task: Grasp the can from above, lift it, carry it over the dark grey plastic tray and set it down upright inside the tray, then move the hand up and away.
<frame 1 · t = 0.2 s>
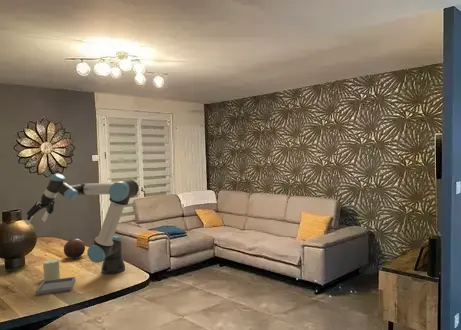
hand: (35, 222, 236), 35 cm above the table, tool tilted 35°, fingers open, 13 cm apart
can: (52, 279, 227), on the table
tray: (56, 287, 212), on the table
wooden sphere: (74, 258, 273), on the table
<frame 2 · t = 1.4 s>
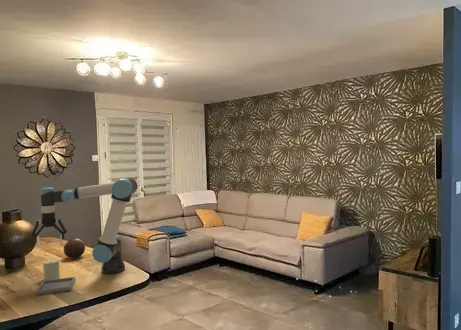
hand: (50, 245, 227), 22 cm above the table, tool pointing down, fingers open, 13 cm apart
nothing on the table moved.
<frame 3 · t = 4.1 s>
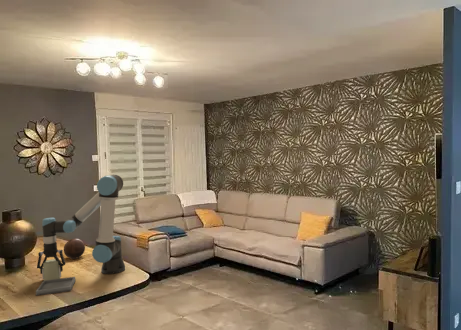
hand: (52, 277, 227), 1 cm above the table, tool pointing down, fingers closed on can, 9 cm apart
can: (52, 279, 227), on the table, touching gripper
everything else where it was.
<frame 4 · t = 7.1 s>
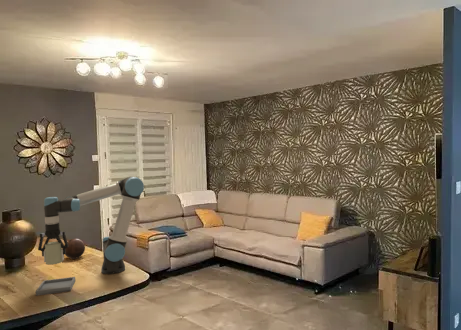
hand: (54, 260, 213), 15 cm above the table, tool pointing down, fingers closed on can, 9 cm apart
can: (54, 262, 214), point 14 cm above the table, touching gripper
everything else where it was.
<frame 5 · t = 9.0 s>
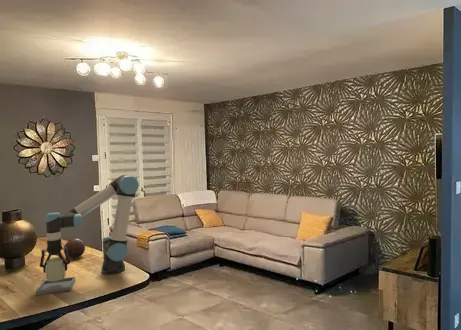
hand: (55, 277, 211), 6 cm above the table, tool pointing down, fingers closed on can, 9 cm apart
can: (56, 279, 211), point 5 cm above the table, touching gripper
everything else where it was.
when the fingers open (4 cm above the table, at t = 10.4 s): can drops 2 cm, resting on tray.
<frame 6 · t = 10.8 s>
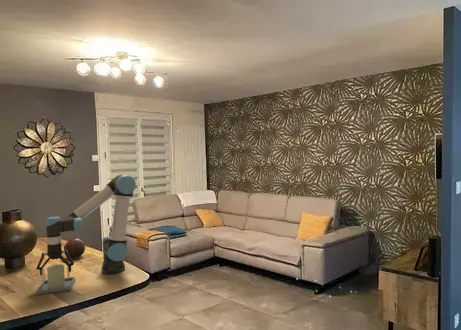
hand: (56, 279, 211), 5 cm above the table, tool pointing down, fingers open, 13 cm apart
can: (56, 286, 212), point 1 cm above the table, touching tray
everything else where it was.
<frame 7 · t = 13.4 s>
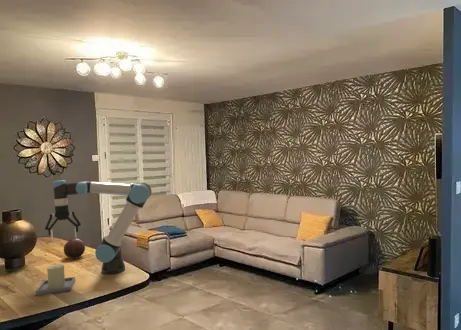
hand: (64, 238, 224), 26 cm above the table, tool pointing down, fingers open, 13 cm apart
nothing on the table moved.
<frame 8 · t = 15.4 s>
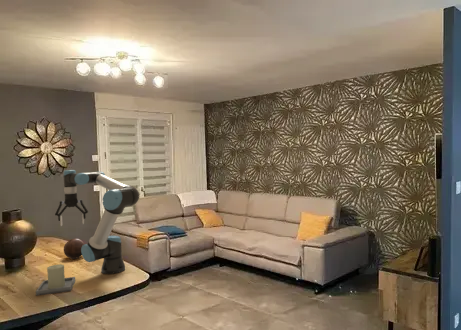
hand: (72, 224, 240), 32 cm above the table, tool pointing down, fingers open, 13 cm apart
nothing on the table moved.
at the end: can inside the target area on the tray (0.0 cm from its centre), point 0.8 cm above the tray's base; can tilted 0°; the gripper is holding nothing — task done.
